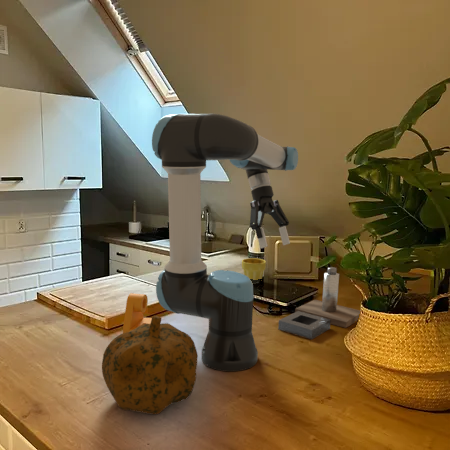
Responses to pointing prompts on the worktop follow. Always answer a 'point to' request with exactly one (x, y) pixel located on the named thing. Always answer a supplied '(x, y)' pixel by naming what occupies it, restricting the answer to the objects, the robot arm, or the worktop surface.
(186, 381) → the decorative pumpkin
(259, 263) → the plant pot
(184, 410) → the worktop surface
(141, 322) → the bracket
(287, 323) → the socket block
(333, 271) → the clear bottle
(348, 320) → the board
